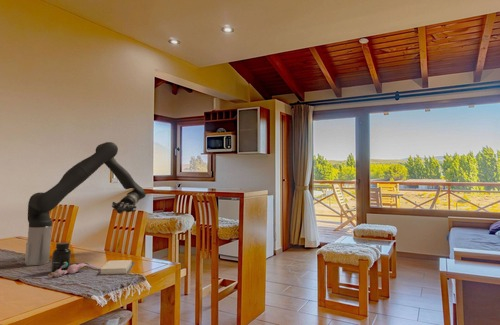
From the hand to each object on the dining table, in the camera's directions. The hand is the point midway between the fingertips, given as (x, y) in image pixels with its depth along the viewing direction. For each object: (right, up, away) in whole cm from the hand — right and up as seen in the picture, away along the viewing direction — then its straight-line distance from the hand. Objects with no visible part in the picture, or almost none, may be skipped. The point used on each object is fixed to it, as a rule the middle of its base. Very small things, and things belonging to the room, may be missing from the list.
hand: (119, 211), depth 156 cm
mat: (+6, -23, -16) cm, 29 cm away
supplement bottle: (-16, -23, -22) cm, 35 cm away
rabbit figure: (-10, -23, -26) cm, 36 cm away
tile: (+5, -22, -11) cm, 25 cm away
